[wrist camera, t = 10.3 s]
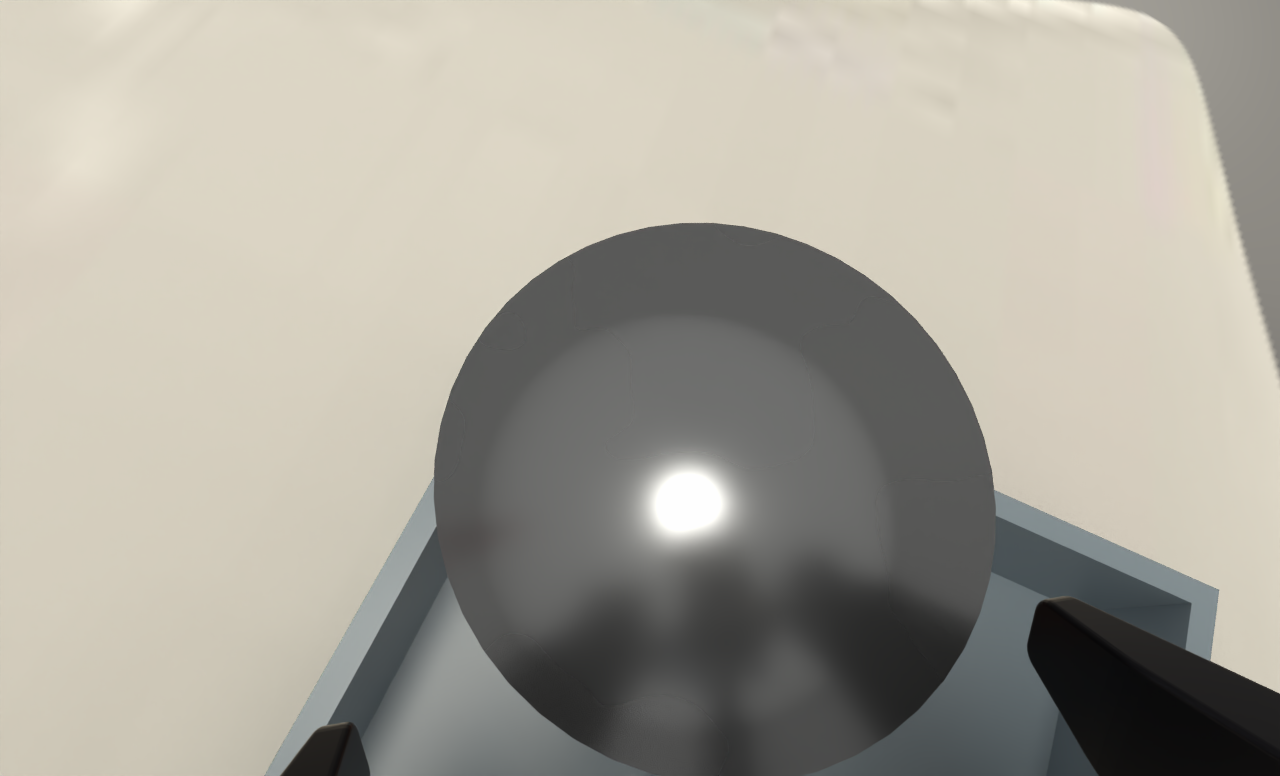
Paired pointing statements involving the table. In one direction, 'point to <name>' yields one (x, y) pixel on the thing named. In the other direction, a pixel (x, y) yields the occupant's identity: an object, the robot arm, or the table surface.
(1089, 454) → the table surface
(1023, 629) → the tote
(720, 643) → the tin
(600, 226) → the table surface
